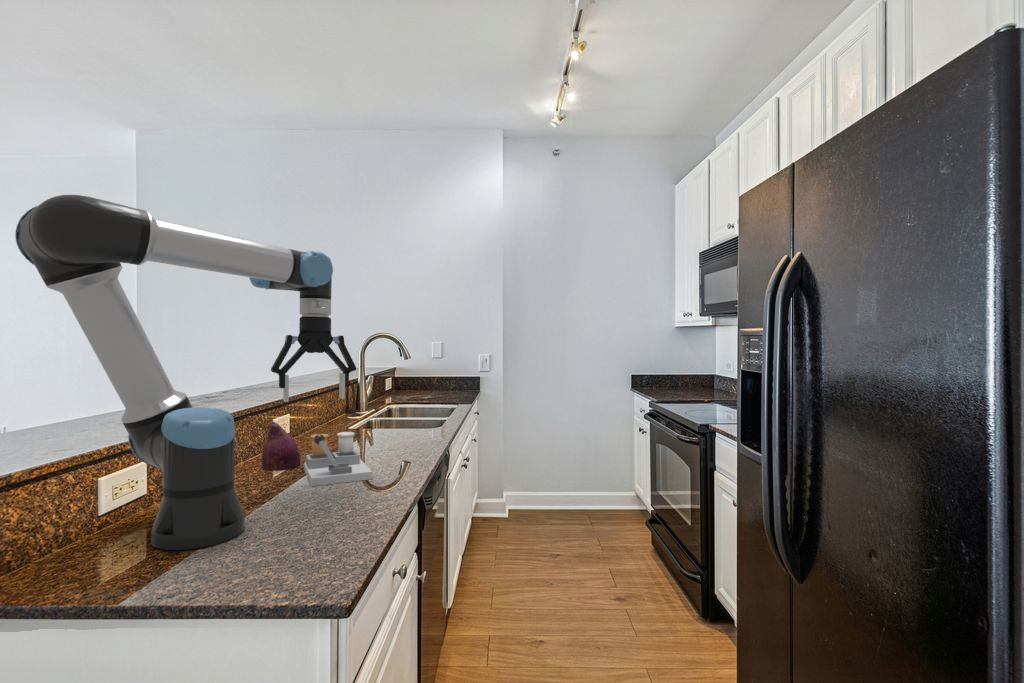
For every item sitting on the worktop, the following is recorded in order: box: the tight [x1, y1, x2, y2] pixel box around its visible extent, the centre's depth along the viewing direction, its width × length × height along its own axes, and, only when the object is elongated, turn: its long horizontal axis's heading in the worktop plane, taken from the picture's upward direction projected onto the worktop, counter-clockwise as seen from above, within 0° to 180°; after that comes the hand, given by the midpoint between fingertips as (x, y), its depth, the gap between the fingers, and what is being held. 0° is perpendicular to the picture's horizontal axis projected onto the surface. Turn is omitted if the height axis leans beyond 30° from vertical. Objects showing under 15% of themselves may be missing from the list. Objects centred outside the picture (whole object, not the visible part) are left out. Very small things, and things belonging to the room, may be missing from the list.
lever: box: [314, 433, 340, 468], centre depth 135 cm, size 3×3×11 cm
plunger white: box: [336, 431, 355, 453], centre depth 146 cm, size 5×5×5 cm
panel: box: [303, 449, 373, 487], centre depth 141 cm, size 15×18×4 cm
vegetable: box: [261, 420, 301, 472], centre depth 148 cm, size 10×10×15 cm
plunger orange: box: [310, 433, 329, 455], centre depth 143 cm, size 5×5×5 cm
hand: (314, 400), depth 131 cm, fingers open, 13 cm apart
